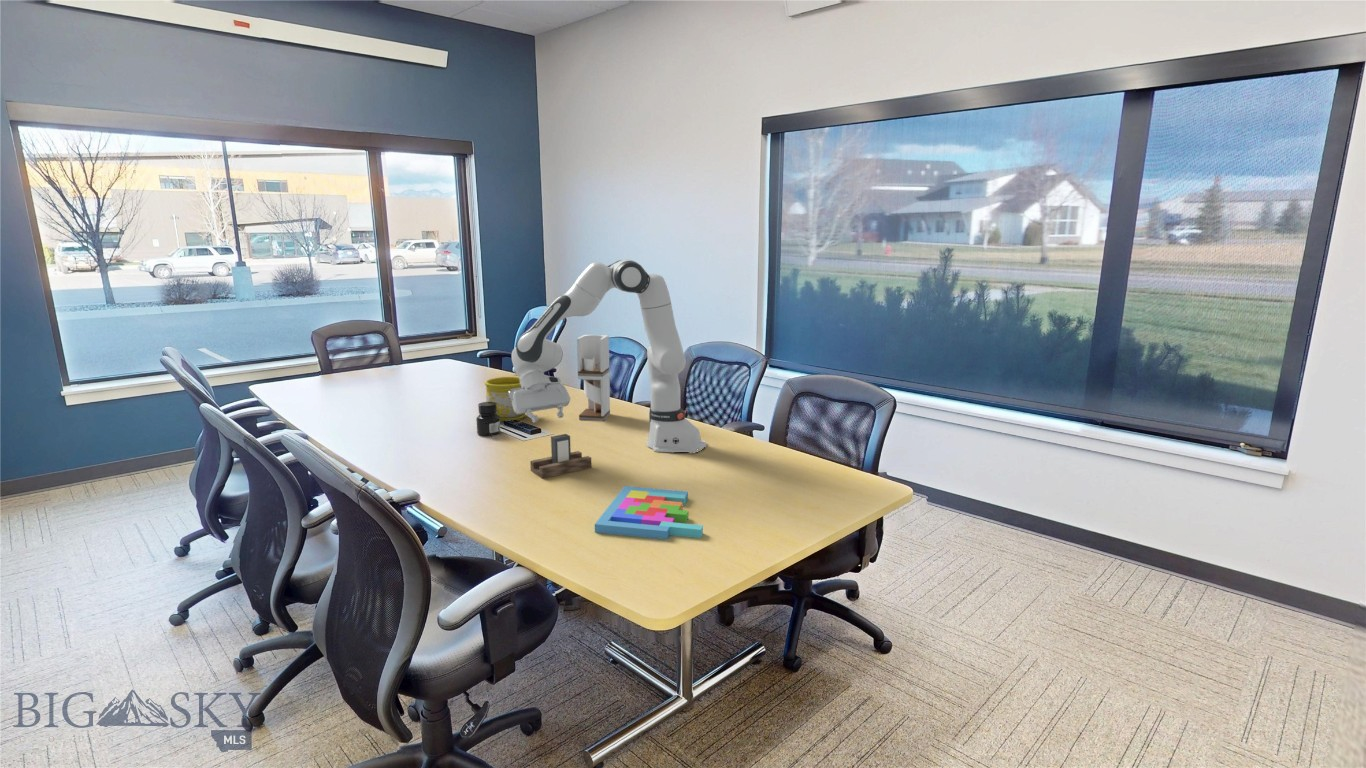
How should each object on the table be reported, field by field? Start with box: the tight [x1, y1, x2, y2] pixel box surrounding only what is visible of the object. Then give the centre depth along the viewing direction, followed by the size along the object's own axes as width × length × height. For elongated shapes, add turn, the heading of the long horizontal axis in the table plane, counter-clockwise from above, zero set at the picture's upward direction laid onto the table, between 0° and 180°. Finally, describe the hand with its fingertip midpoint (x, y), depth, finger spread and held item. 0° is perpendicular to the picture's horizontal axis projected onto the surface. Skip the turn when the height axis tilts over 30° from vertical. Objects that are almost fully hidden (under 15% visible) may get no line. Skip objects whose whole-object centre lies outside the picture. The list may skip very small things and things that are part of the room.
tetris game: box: [594, 485, 704, 540], centre depth 185 cm, size 28×3×28 cm
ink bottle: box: [476, 401, 501, 437], centre depth 260 cm, size 10×9×12 cm
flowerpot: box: [484, 376, 527, 423], centre depth 282 cm, size 18×18×16 cm
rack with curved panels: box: [576, 334, 611, 422], centre depth 282 cm, size 11×11×35 cm
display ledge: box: [529, 450, 593, 480], centre depth 221 cm, size 18×9×4 cm, turn 127°
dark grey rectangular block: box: [550, 433, 572, 464], centre depth 220 cm, size 3×6×10 cm, turn 127°
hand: (548, 419), depth 225 cm, fingers open, 8 cm apart
